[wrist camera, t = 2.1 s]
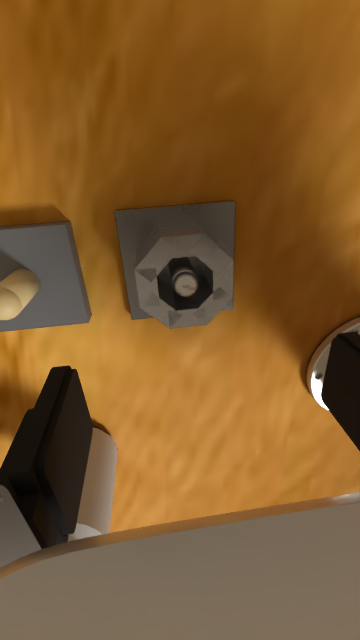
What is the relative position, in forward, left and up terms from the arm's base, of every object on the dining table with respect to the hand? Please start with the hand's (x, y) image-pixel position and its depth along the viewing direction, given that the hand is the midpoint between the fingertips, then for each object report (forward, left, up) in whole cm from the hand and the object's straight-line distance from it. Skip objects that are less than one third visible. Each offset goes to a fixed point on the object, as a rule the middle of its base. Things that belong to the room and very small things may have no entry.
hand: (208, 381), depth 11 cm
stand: (0, 0, -16) cm, 16 cm away
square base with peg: (+12, 0, -16) cm, 20 cm away
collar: (0, 0, -15) cm, 15 cm away
